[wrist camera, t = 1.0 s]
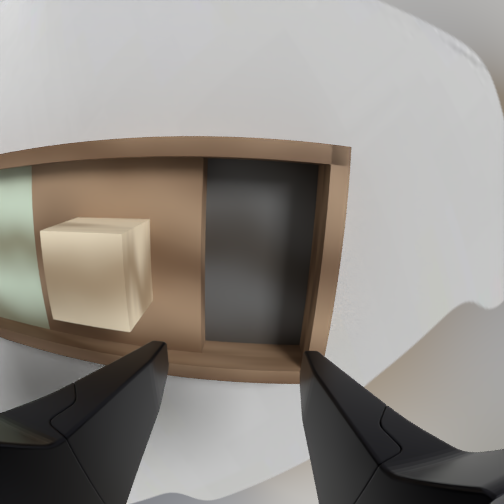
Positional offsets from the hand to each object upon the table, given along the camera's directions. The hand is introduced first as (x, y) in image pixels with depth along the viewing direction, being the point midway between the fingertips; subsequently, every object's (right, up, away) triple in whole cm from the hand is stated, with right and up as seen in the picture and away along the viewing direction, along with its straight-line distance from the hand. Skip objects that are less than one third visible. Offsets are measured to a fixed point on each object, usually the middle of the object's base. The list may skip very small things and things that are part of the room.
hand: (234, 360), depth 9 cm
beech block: (-8, +3, +9) cm, 12 cm away
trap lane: (-12, +4, +11) cm, 17 cm away
